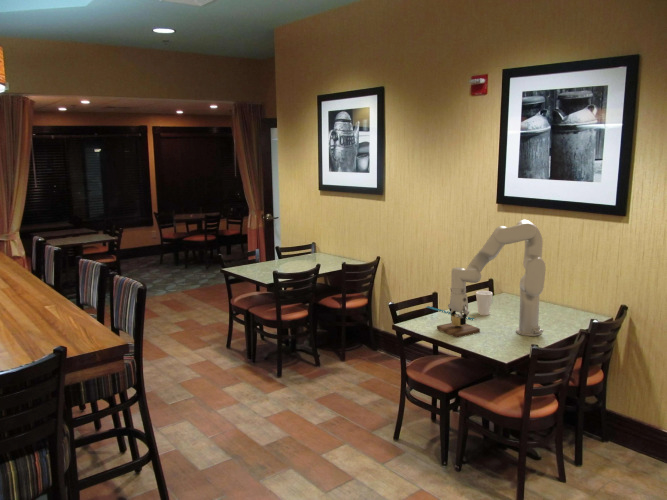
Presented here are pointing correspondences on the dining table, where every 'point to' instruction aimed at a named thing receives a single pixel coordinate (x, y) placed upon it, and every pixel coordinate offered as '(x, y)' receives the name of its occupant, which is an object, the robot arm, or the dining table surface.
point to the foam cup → (484, 302)
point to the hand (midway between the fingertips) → (458, 322)
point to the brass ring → (456, 320)
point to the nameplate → (444, 311)
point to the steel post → (457, 316)
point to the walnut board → (458, 329)
